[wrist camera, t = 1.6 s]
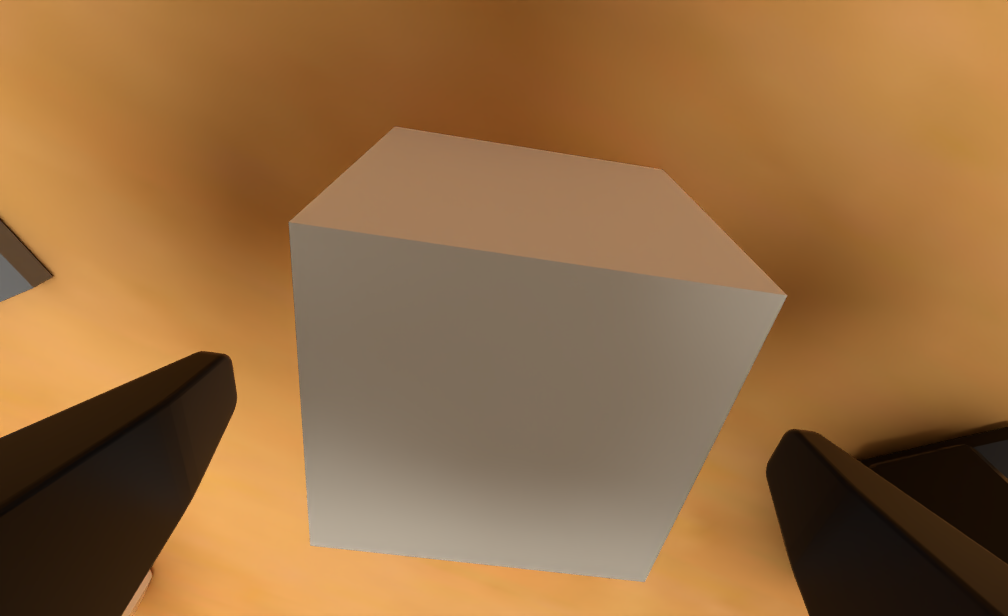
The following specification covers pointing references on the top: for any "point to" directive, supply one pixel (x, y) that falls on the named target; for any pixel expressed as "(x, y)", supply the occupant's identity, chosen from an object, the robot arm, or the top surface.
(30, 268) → the coaster
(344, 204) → the cube
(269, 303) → the top surface
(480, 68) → the top surface
